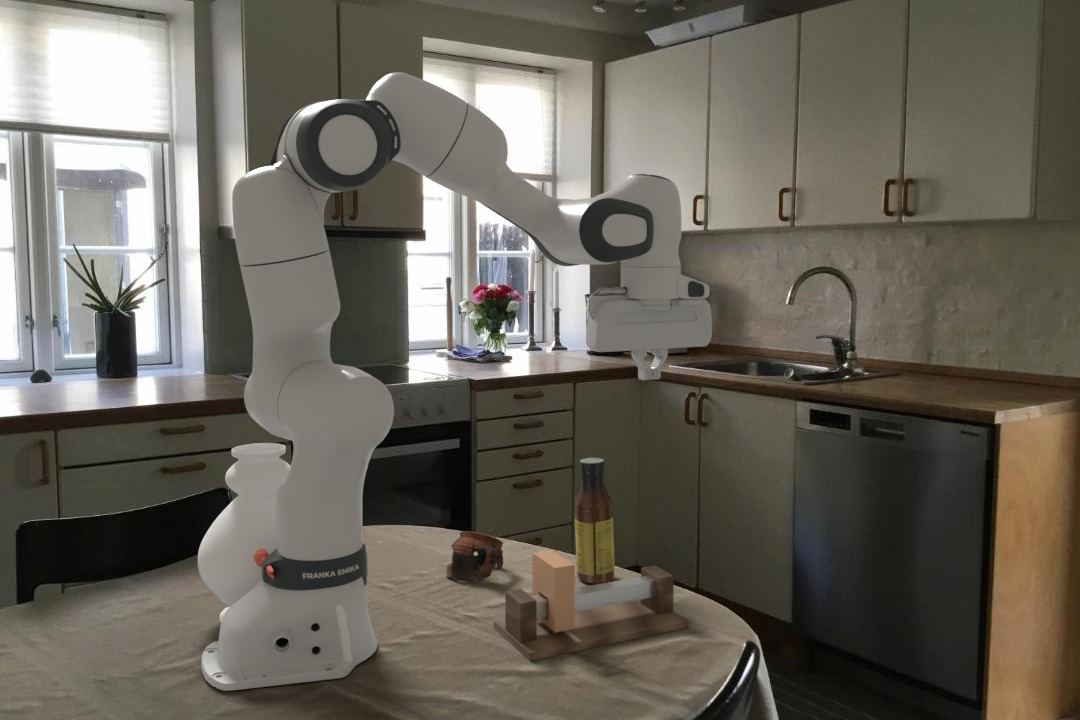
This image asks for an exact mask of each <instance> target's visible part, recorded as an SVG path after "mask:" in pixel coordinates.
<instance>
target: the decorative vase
mask: <svg viewBox="0 0 1080 720" xmlns="http://www.w3.org/2000/svg"><path fill="white" fill-rule="evenodd" d="M286 450H287V449H286V445H284V444H281V443H275V442H260V443H259V442H258V443H249V444H242V445H237V446H234V447H232V448H231V451H230V452H231V456H232V457H233V458H236V459H237V461H236V462H234V463H233V464H232V465H231V466H230V467H229V468H228V469H227V471H226V473H225V476H224V479H225V483H226V485H227V486H228V488H229V489H231V490H232V491H233V492H234V493H235V494H237V496H236V497H235V498H234V499H233V500H232V501H231V502H230V503H229V504H228V505H227V506H226V507H225V508H224V509H223V510H222V511H221V513H219V515H218V516H217V517H216V518H215V520H213V522H212V524H211V525H210V527H209V528H208V530H207V531H206V533H205V534H204V536H203V538H202V540H201V542H200V545H199V548H198V551H197V552H198V553H197V569H198V573H199V575H200V577H201V579H202V581H203V582H204V583H205V585H206V586H207V587H208V589H210V590H211V591H212V593H213V594H215V595H216V597H218V599H219V600H220V601H221V602H223V603H224V604H225V605H226V606H227V607H225V608H224V609H223V610H222V611H221V612H220V614H219V623H220V624H221V623H222V620H223V617H224V615H225V613H226V611H227V610H228V608H229V607H231V606H232V605H233V604H234V603H236V602H237V601H238V600H239V599H241V598H242V597H243V596H244V595H245V594H247V593H248V592H249V591H250V590H251V589H252V588H254V587H255V586H256V585H257V584H258V583H259V582H261V581H262V580H263V579H262V567H259V566H257V564H256V562H255V561H254V560H255V559H254V557H255V556H254V554H255V553H256V551H257V550H260V549H265V550H266V551H267V552H268V553H269V555H270V554H271V553H272V552H273V551H274V550H276V549H277V526H276V493H277V491H278V489H279V487H280V486H281V485H282V484H283V483H284V482H285V481H286V479H287V477H288V474H289V471H290V467H291V464H289V463H288V462H287V461H286V460H284V459H282V457H281V456H283V455H285V454H286V452H287V451H286ZM280 457H281V458H280Z"/></svg>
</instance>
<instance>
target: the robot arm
mask: <svg viewBox="0 0 1080 720" xmlns="http://www.w3.org/2000/svg"><path fill="white" fill-rule="evenodd" d="M508 149H509V148H508V142H507V138H506V136H505V132H504V131H503V129H502V128H500V127H499V125H497V123H496V122H495V121H493V120H492V119H491V118H490V117H489V116H487V115H486V114H485V113H483V112H482V111H481V110H479V109H478V108H477V107H475V106H473V105H472V104H470V103H469V102H467V101H465V100H464V99H462V98H460V97H459V96H457V95H455V94H453V93H452V92H449V90H446V89H445V88H443V87H440V86H438V85H436V84H433V83H432V82H429V81H427V80H425V79H422V78H419V77H417V76H414V75H411V74H410V73H409V74H408V73H406V72H400V71H395V72H390V73H389V74H386V75H385V76H383V77H382V78H380V79H379V80H378V81H376V83H374V85H373V86H372V88H371V89H370V90H369V92H368V94H367V96H366V98H365V99H350V98H338V99H332V100H331V99H330V100H319V101H315V102H312V103H309V104H307V105H305V106H304V107H302V108H300V109H299V110H297V111H295V112H294V113H293V114H291V115H290V117H288V119H287V120H286V122H285V123H284V124H283V126H282V127H281V131H280V132H279V135H278V139H277V143H276V145H275V148H274V151H273V154H272V157H271V161H270V163H269V165H266V166H262V167H258V168H254V169H253V170H251V171H248V172H247V173H245V174H244V175H243V176H242V177H240V178H239V179H238V180H237V181H236V182H235V185H234V187H233V189H232V195H231V198H232V199H231V201H232V202H231V203H232V223H233V225H232V226H233V231H234V232H233V233H234V242H235V247H236V253H237V258H238V263H239V268H240V272H241V277H242V281H243V285H244V291H245V294H246V296H245V297H246V300H247V304H248V309H249V313H250V314H249V315H250V319H251V328H252V338H253V339H252V369H251V371H252V372H251V373H250V375H249V377H248V379H247V381H246V384H245V386H244V391H243V392H244V393H243V402H244V406H245V408H246V409H245V410H246V412H247V413H248V415H249V416H250V418H251V419H252V420H253V421H254V422H256V423H257V424H258V425H259V426H260V427H261V428H262V429H264V430H265V431H267V432H268V433H269V434H271V435H272V436H273V435H274V436H275V437H279V438H280V439H281V438H282V439H285V440H289V441H292V444H293V445H292V446H293V451H292V452H293V453H292V457H291V458H292V459H291V464H290V466H291V467H290V471H289V474H288V477H287V479H286V481H285V482H284V483H283V484H282V485H281V486H280V487H279V489H278V491H277V493H276V526H277V549H276V550H274V551H273V552H272V553H271V554H270V555H269V553H268V552H267V551H266V550H265V549H260V550H257V551H256V553H255V554H254V556H255V557H254V559H255V560H254V561H255V562H256V564H257V566H259V567H262V579H263V580H262V581H261V582H259V583H258V584H257V585H256V586H255V587H254V588H252V589H251V590H250V591H249V592H248V593H247V594H245V595H244V596H243V597H242V598H241V599H239V600H238V601H237V602H236V603H234V604H233V605H232V606H231V607H229V608H228V610H227V611H226V613H225V615H224V617H223V620H222V623H220V628H219V633H218V640H216V641H213V642H211V643H209V645H207V646H206V647H205V648H204V650H203V652H202V653H201V660H200V661H201V663H200V668H201V673H202V675H203V677H204V679H205V681H206V682H207V683H208V684H209V685H211V687H214V688H215V687H216V688H215V689H217V690H221V691H222V692H225V691H226V692H228V691H237V690H239V691H240V690H247V689H254V688H255V689H257V688H264V687H266V688H267V687H273V686H285V685H292V684H300V683H308V682H317V681H327V680H328V681H329V680H336V679H341V678H345V677H347V676H348V675H349V674H350V673H351V672H352V671H353V669H354V668H355V667H356V666H357V665H359V664H361V663H362V662H364V661H366V660H367V659H368V658H370V657H371V656H373V654H374V653H375V652H376V651H377V648H378V644H379V643H378V640H377V638H376V635H375V631H374V629H373V624H372V621H371V616H370V610H369V605H368V600H367V599H368V598H367V597H368V596H367V590H366V586H367V585H368V575H369V570H368V566H369V565H368V562H369V561H368V553H367V552H368V551H367V547H366V544H365V543H364V541H363V540H364V539H363V493H364V491H363V490H364V483H365V480H366V474H367V470H368V466H369V463H370V460H371V457H372V455H373V452H374V450H375V449H376V448H377V446H379V445H380V444H381V443H382V442H383V441H384V439H385V438H386V437H387V435H388V434H389V432H390V429H391V427H392V425H393V422H394V416H395V406H394V401H393V396H392V394H391V391H389V389H388V387H387V386H386V385H385V384H384V383H383V381H381V380H379V379H377V378H376V377H374V376H373V375H371V374H370V373H368V372H365V370H362V369H359V368H357V367H355V366H351V365H350V366H349V365H344V364H339V363H338V364H337V363H334V362H333V360H332V358H331V357H332V356H331V336H332V335H331V333H332V328H333V324H334V322H335V321H336V320H337V318H338V316H339V315H340V310H341V301H340V297H339V292H338V285H337V280H336V277H335V272H334V270H335V269H334V265H333V261H332V260H333V259H332V257H331V255H332V254H331V252H330V247H329V241H328V238H327V233H326V230H325V227H324V224H325V217H324V216H325V215H324V214H325V207H326V203H327V201H328V199H329V197H330V196H331V194H332V193H341V192H353V191H357V190H358V189H361V188H363V187H365V186H367V185H368V184H370V183H371V182H372V181H373V180H374V179H376V178H377V177H378V176H379V174H381V172H382V171H383V170H384V169H385V168H386V167H387V166H388V165H389V164H390V163H391V162H392V161H395V162H397V163H400V164H402V165H405V166H407V167H409V168H410V169H412V170H413V171H415V172H417V173H418V174H420V175H422V176H423V177H425V178H427V179H429V180H431V181H432V182H434V183H435V184H437V185H440V186H441V187H444V188H446V189H448V190H450V191H453V192H455V193H457V194H460V195H462V196H465V197H467V198H469V199H471V200H473V201H476V202H478V203H480V204H481V205H483V206H484V207H485V208H487V209H489V210H490V211H492V212H494V213H495V214H496V215H498V216H500V217H501V218H503V219H505V220H506V221H508V222H509V223H511V224H512V225H514V226H516V227H517V228H519V229H520V230H521V231H523V232H524V233H525V234H526V235H528V236H529V238H531V240H532V242H533V243H534V244H535V245H536V247H537V248H538V249H539V251H540V252H541V253H542V254H543V255H544V257H545V258H547V259H548V260H549V261H550V262H552V263H554V264H556V265H558V266H562V267H573V266H581V265H584V266H585V265H587V266H588V265H591V266H592V265H593V266H594V265H597V266H599V265H600V266H601V265H612V264H615V263H618V262H620V287H617V286H615V287H609V288H608V287H598V288H597V290H595V291H593V292H592V293H591V294H590V295H589V296H588V302H587V303H588V305H587V306H588V309H587V310H588V318H587V323H586V324H587V325H586V332H585V333H586V334H585V335H586V336H585V343H586V346H587V347H588V348H589V350H590V351H593V352H597V353H607V352H608V353H609V352H626V351H631V358H632V360H633V362H634V363H635V366H636V368H637V378H638V380H641V381H649V380H650V381H651V380H660V379H661V372H662V369H661V368H662V367H663V366H664V364H665V362H666V360H667V358H668V356H669V355H668V354H669V353H668V352H669V349H680V348H682V349H683V348H696V347H697V348H699V347H707V346H708V345H709V344H710V342H711V340H712V335H713V317H712V309H711V305H710V303H709V302H708V300H706V299H707V298H708V297H709V296H710V291H711V290H710V286H709V284H707V283H706V282H703V281H699V280H697V279H695V278H691V277H690V276H686V275H684V274H682V269H681V268H682V267H681V266H682V263H681V260H680V256H679V255H680V254H679V248H680V242H681V239H682V206H681V197H680V193H679V189H678V187H677V185H676V183H675V182H674V181H672V180H671V179H669V178H667V177H664V176H661V175H656V174H646V173H636V174H630V175H628V176H627V177H626V179H625V180H623V182H621V183H620V184H618V185H616V187H614V188H612V189H610V190H608V191H605V192H602V193H600V194H598V195H596V196H594V197H592V196H591V197H587V198H581V199H580V198H579V199H568V198H567V199H565V198H557V197H553V196H550V195H548V194H546V193H545V192H544V191H542V190H540V189H539V188H538V187H536V186H534V185H533V184H532V183H530V182H528V180H526V179H524V178H523V177H521V176H519V175H518V174H516V172H514V171H513V170H512V169H511V168H510V167H509V165H508V164H507V161H508V155H509V154H508V153H509V150H508ZM649 350H652V356H654V357H653V360H652V363H651V365H650V366H648V365H647V364H648V363H646V360H645V358H647V357H648V356H647V355H648V351H649Z"/></svg>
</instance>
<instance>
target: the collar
mask: <svg viewBox="0 0 1080 720" xmlns="http://www.w3.org/2000/svg"><path fill="white" fill-rule="evenodd" d="M575 565H576V564H574V563H572V562H571V561H569V560H567V559H566V558H565V557H563V556H562V555H561V554H558V553H557V552H556V551H554V550H552V549H550V550H543V551H536V552H532V596H535V595H540V594H543V595H544V596H546V597H547V598H548V599H549V617H546V618H541V619H539V620H540V621H541V622H542V623H544V624H545V625H546V626H547V627H549V628H550V629H551V630H552V631H554V632H560V631H565V630H570V629H574V609H575V588H576V586H575V585H576V584H575V583H576V582H575V577H576V576H575V575H576V574H575V572H576V571H575V570H576V569H575V568H576V566H575Z"/></svg>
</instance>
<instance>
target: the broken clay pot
mask: <svg viewBox="0 0 1080 720" xmlns="http://www.w3.org/2000/svg"><path fill="white" fill-rule="evenodd" d="M503 545H504V542H503V541H502V540H500V539H498V538H497V537H494V536H492V535H489V534H485V533H481V532H476V531H469V530H465V531H461V532H460V533H459V537H458V538H457V539H456V540H455V541H454V542H453V543H452V544H451V548H452V551H453V552H452V555H451V556H452V557H451V563H447V565H446V578H449V579H455V580H457V581H460V582H466V583H469V584H473V583H474V582H475V576H476V574H477V575H478V576H479V577H480V578H481V579H485V578H488V577H490V576H491V575H492V573H493V570H494V568H495V567H496V568H497V570H501V569H502V568H503V566H504V557H503V554H504V551H503V549H502V547H503ZM475 553H476V554H477V555H475Z"/></svg>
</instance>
